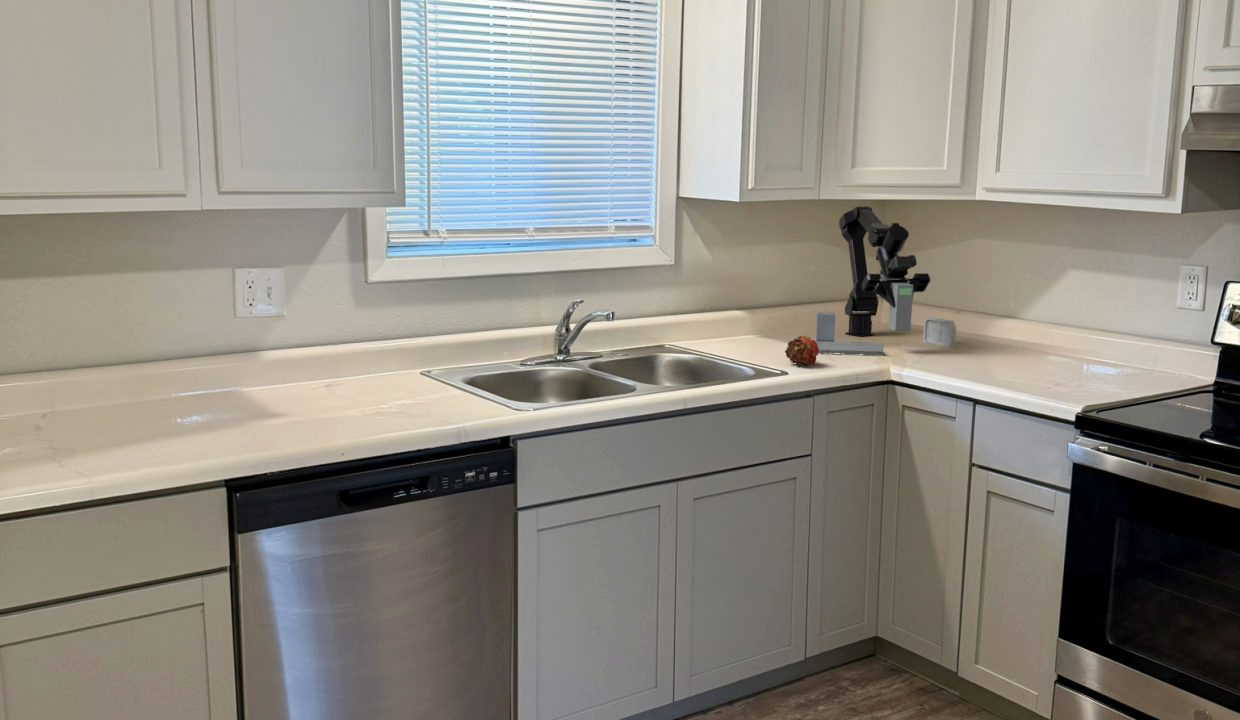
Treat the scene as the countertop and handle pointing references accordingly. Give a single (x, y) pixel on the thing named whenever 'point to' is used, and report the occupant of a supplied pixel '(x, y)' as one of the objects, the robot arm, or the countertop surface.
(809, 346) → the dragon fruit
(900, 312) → the block
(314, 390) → the countertop surface
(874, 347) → the rail
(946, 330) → the light switch
